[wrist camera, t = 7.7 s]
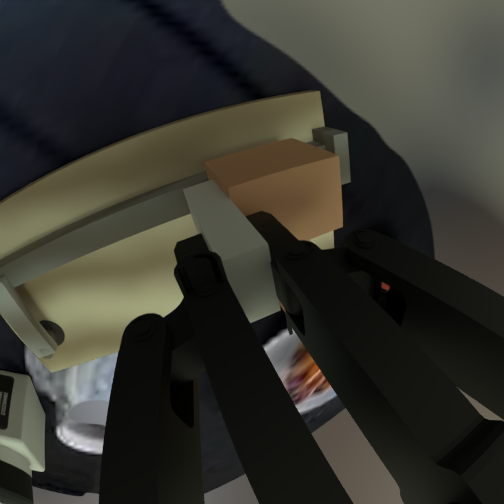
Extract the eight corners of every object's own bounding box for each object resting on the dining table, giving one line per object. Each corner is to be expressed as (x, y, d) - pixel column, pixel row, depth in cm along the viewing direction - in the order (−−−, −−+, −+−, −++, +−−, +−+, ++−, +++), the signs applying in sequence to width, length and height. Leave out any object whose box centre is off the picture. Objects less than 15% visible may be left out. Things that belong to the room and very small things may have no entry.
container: (-32, 361, 16) (-53, 474, 6) (30, 373, 20) (23, 500, 9) (-9, 403, 19) (-16, 500, 9) (46, 413, 23) (50, 517, 12)
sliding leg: (199, 157, 15) (227, 188, 11) (282, 134, 16) (339, 155, 12) (233, 276, 20) (264, 333, 16) (298, 250, 21) (343, 297, 17)
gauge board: (-41, 229, 12) (-64, 255, 9) (309, 90, 17) (342, 92, 14) (53, 362, 20) (49, 394, 17) (326, 259, 25) (351, 283, 22)
